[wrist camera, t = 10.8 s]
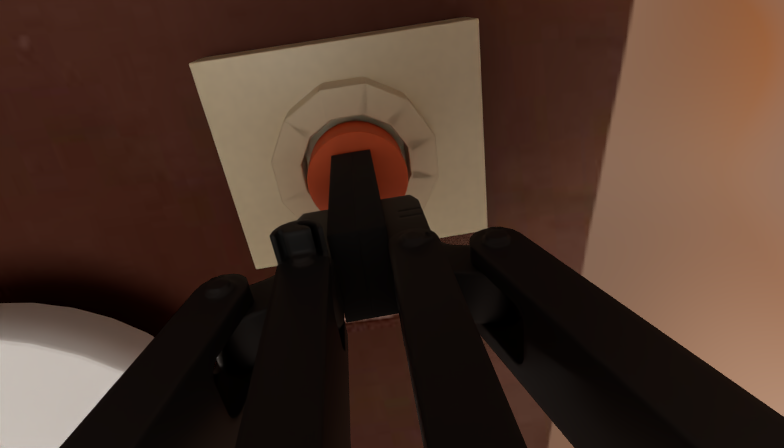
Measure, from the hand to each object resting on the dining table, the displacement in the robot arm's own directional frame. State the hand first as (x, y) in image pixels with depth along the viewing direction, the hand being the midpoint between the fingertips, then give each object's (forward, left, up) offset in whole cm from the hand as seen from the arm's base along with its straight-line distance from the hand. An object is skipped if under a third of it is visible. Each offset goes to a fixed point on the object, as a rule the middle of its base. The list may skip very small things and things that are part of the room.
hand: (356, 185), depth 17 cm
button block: (0, 0, -6) cm, 6 cm away
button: (0, 0, -2) cm, 2 cm away
